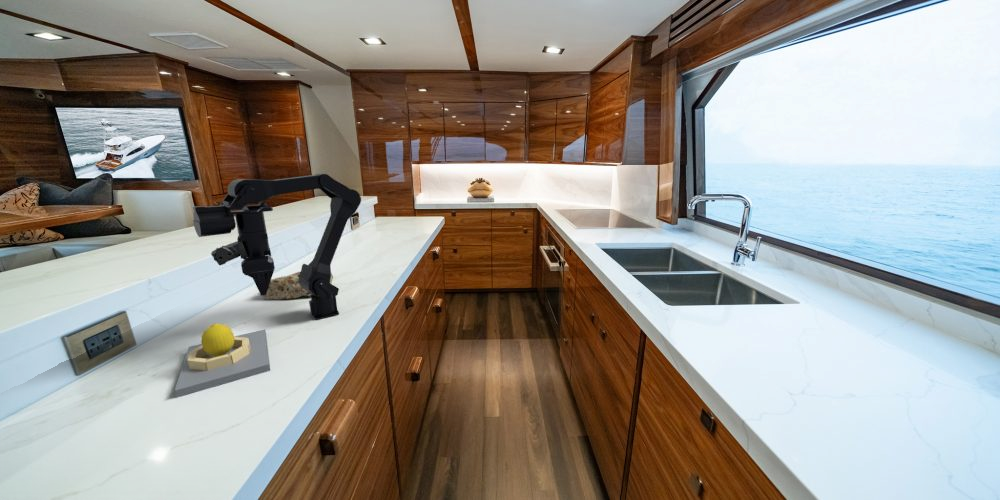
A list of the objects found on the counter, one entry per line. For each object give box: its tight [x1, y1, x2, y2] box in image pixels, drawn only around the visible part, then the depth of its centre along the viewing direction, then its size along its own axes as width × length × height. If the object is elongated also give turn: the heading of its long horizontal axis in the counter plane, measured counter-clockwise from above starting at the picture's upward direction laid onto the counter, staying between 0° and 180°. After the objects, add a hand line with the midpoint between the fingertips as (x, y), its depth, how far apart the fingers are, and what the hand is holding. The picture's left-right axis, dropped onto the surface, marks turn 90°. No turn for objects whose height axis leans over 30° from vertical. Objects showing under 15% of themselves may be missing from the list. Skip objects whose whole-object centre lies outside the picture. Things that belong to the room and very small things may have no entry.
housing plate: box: [174, 328, 271, 398], centre depth 76 cm, size 15×20×4 cm
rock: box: [263, 271, 334, 301], centre depth 118 cm, size 21×14×10 cm
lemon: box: [200, 323, 235, 356], centre depth 74 cm, size 6×6×8 cm
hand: (262, 289), depth 87 cm, fingers open, 9 cm apart
